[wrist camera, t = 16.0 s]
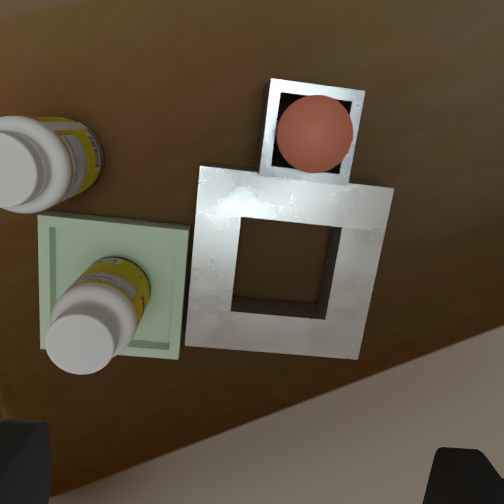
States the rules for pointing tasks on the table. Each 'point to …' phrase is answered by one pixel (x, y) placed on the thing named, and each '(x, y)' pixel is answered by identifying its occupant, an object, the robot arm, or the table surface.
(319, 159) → the plunger
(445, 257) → the table surface
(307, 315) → the housing
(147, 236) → the tray
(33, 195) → the supplement bottle
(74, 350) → the supplement bottle
